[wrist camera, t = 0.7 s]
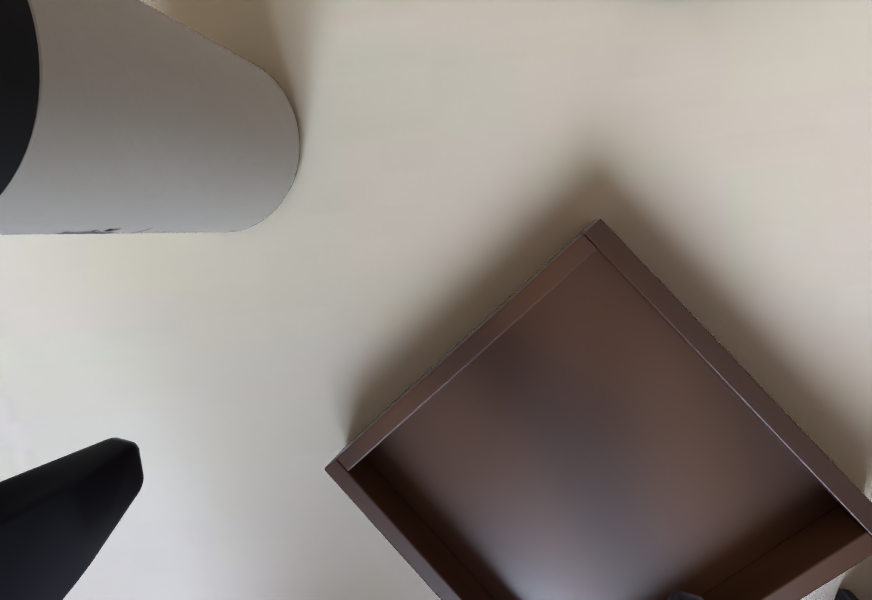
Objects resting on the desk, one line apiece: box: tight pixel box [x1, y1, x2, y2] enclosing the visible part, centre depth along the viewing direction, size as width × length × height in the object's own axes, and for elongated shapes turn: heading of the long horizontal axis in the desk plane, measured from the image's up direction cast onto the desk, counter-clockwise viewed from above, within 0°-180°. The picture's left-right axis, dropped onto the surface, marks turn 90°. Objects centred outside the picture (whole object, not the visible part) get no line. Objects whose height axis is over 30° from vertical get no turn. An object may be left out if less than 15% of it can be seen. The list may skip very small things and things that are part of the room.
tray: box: [325, 219, 872, 600], centre depth 23 cm, size 16×16×3 cm
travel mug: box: [0, 0, 300, 235], centre depth 17 cm, size 8×8×18 cm
